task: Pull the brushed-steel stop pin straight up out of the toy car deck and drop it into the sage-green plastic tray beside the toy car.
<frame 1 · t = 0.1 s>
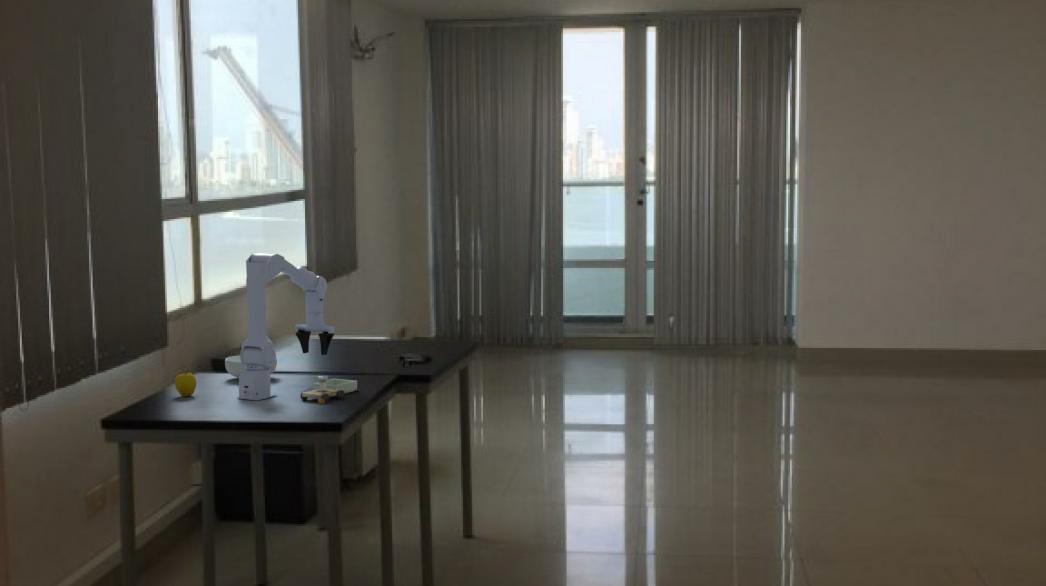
hand: (314, 353, 384), 10 cm above the table, fingers open, 7 cm apart
apple: (185, 397, 361), on the table
stop pin: (322, 387, 357), in the toy car
cereal bowl: (251, 379, 395), on the table
tray: (335, 391, 372), on the table
toy car: (322, 399, 358), on the table
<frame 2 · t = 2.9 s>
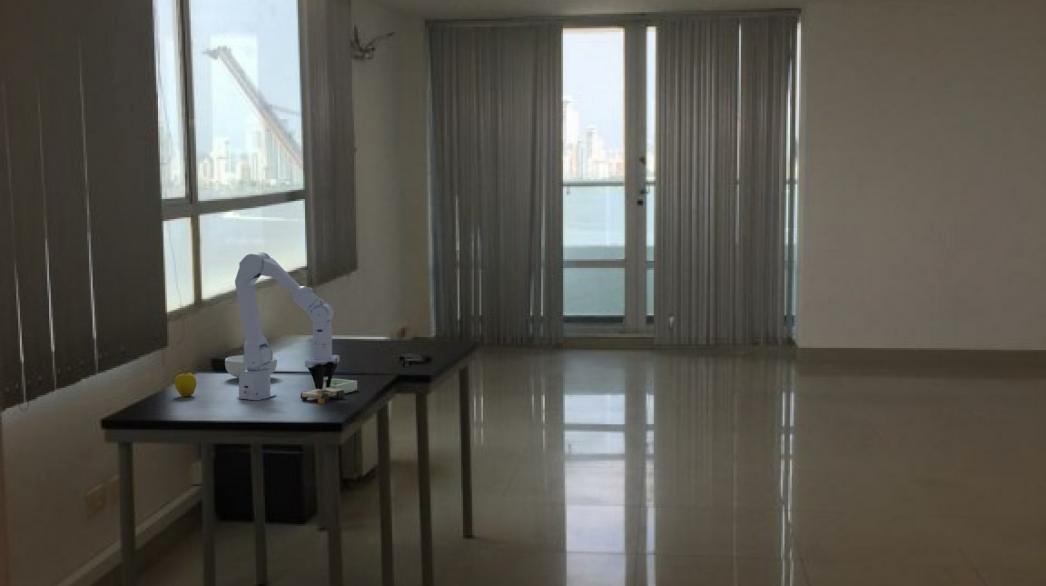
hand: (322, 388, 357), 3 cm above the table, fingers closed on stop pin, 3 cm apart
stop pin: (322, 387, 357), in the toy car, touching gripper
everything else where it was.
when the fingers open (5 cm above the table, at t = 6.4 s): stop pin drops 1 cm, resting on tray.
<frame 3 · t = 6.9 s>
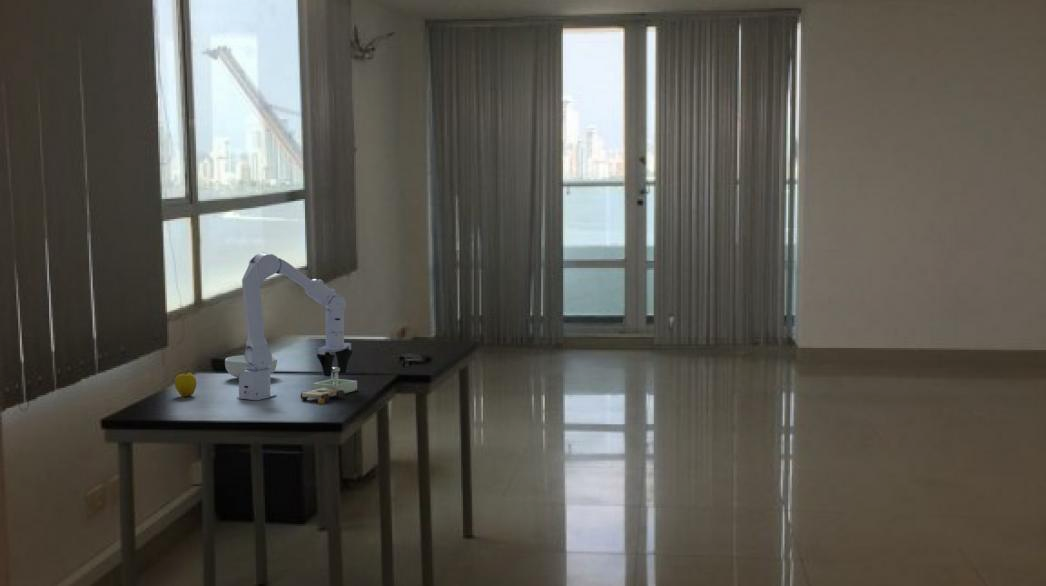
hand: (335, 374, 371), 5 cm above the table, fingers open, 7 cm apart
stop pin: (334, 378, 371), in the tray, point 4 cm above the table
everything else where it was.
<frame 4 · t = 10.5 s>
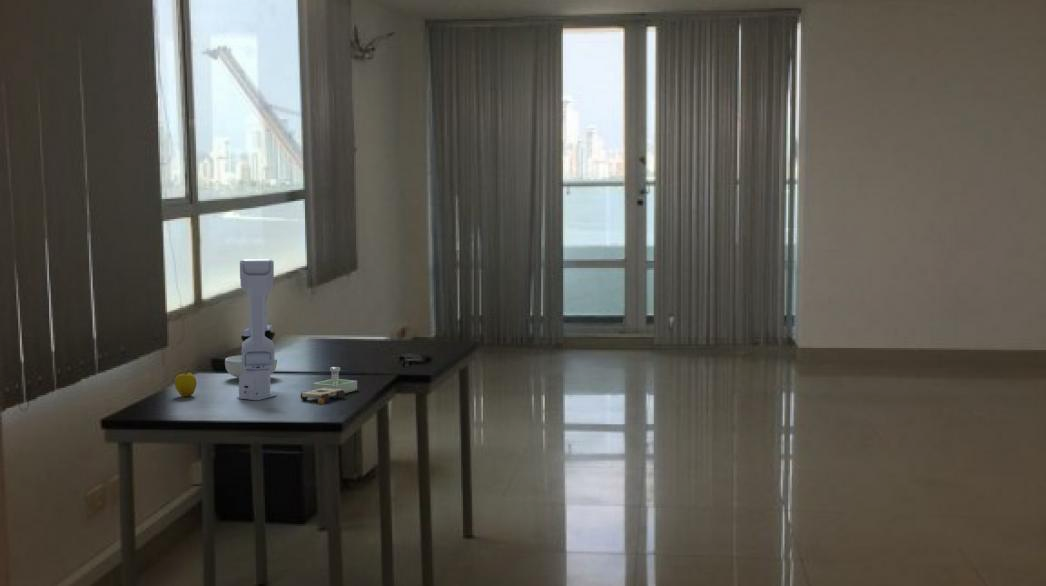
hand: (258, 356, 375), 10 cm above the table, fingers open, 7 cm apart
nothing on the table moved.
at the end: stop pin inside the target area on the tray (0.2 cm from its centre), point 4.1 cm above the tray's base; the gripper is holding nothing; stop pin moved 13.7 cm from its start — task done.
